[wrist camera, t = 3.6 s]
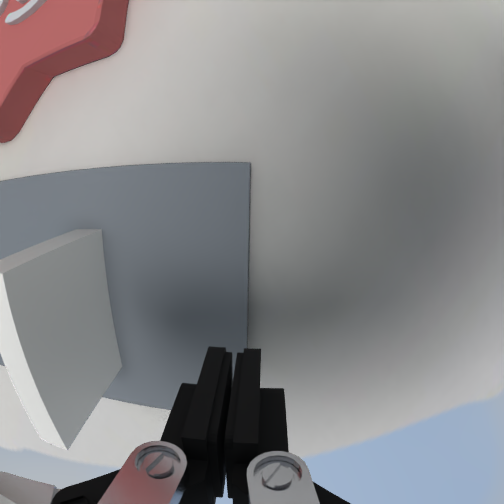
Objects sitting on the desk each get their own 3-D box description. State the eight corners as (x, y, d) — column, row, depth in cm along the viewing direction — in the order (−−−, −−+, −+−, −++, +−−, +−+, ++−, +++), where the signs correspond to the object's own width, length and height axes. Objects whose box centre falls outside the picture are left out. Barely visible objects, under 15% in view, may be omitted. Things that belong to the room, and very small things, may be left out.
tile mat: (250, 162, 13) (249, 162, 13) (246, 411, 17) (245, 417, 16) (-53, 192, 14) (-58, 193, 14) (-21, 351, 18) (-24, 353, 17)
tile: (101, 229, 14) (2, 273, 7) (122, 366, 16) (67, 450, 9) (75, 229, 14) (-25, 269, 7) (97, 361, 16) (39, 438, 9)
